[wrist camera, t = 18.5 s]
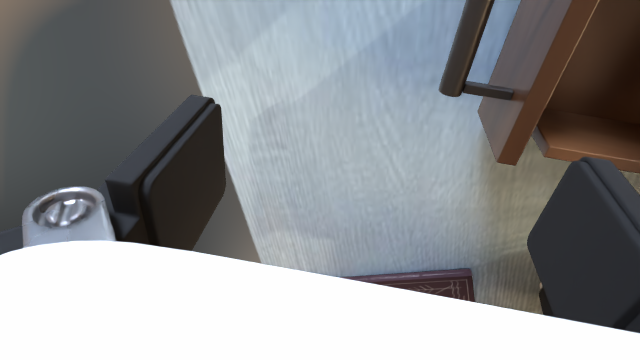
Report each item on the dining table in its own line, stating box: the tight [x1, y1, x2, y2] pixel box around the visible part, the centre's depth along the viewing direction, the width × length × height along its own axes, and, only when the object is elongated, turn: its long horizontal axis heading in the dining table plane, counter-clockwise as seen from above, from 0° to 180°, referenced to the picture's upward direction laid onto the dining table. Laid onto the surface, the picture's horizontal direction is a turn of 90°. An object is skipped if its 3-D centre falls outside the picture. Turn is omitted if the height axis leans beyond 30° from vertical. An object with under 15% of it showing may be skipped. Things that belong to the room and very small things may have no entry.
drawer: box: [439, 0, 640, 173], centre depth 23 cm, size 18×13×7 cm
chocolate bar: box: [340, 269, 475, 302], centre depth 45 cm, size 9×1×18 cm
